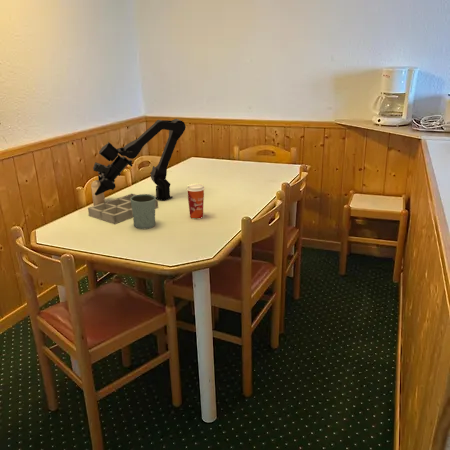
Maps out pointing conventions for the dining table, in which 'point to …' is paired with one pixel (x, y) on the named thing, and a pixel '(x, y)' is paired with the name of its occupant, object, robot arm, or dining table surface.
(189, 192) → the paper cup
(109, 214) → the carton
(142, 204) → the grey green pot
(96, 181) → the beige capped bottle
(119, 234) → the dining table surface
